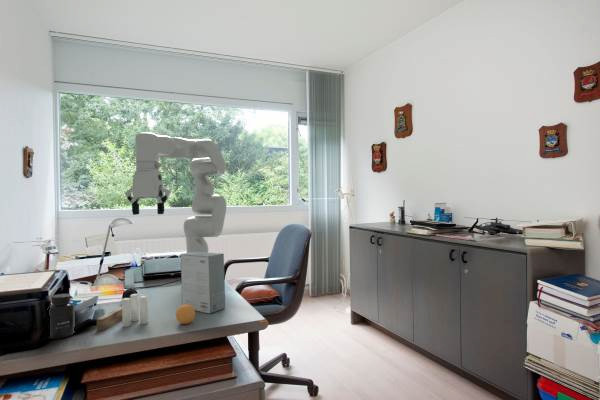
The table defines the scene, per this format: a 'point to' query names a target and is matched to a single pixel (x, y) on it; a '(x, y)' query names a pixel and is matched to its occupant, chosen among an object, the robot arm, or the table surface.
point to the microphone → (128, 293)
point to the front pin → (143, 309)
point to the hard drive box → (203, 281)
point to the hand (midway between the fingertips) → (148, 214)
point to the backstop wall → (109, 319)
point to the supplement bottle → (61, 316)
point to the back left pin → (126, 312)
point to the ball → (185, 314)
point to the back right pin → (134, 307)
